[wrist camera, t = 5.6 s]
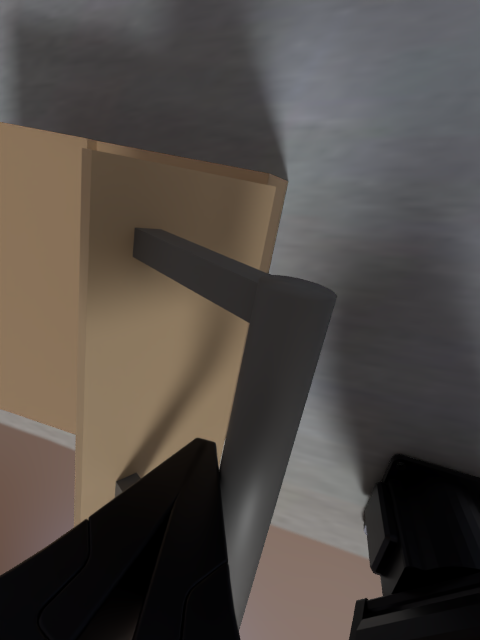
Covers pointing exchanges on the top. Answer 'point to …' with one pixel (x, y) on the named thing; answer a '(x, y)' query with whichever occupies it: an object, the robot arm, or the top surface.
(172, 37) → the top surface
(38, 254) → the kraft carton
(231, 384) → the carton flap
